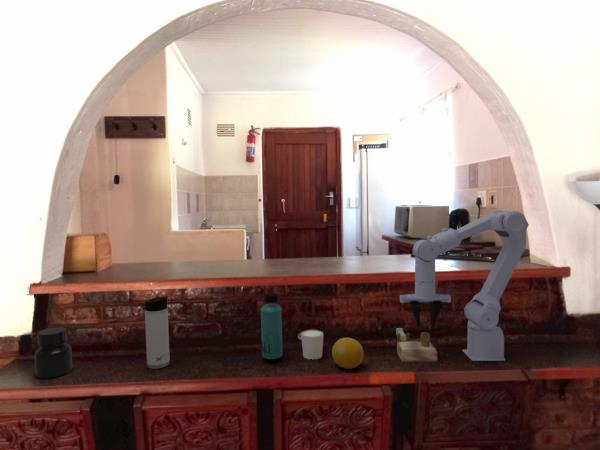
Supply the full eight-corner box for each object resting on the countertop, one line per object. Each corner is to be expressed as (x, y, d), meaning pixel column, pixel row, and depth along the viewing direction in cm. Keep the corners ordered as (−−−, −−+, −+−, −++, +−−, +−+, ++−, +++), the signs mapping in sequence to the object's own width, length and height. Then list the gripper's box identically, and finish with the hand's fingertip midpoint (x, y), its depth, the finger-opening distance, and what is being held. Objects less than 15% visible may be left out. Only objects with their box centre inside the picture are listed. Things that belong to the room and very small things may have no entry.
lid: (429, 343, 121) (429, 330, 121) (435, 351, 115) (435, 337, 115) (398, 343, 122) (398, 330, 121) (403, 351, 115) (403, 337, 115)
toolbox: (429, 351, 123) (429, 333, 122) (437, 361, 115) (437, 342, 114) (396, 351, 123) (396, 333, 122) (402, 362, 115) (402, 342, 115)
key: (402, 334, 128) (402, 328, 128) (407, 341, 122) (407, 335, 121) (396, 334, 128) (396, 328, 128) (400, 341, 122) (400, 335, 122)
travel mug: (163, 369, 113) (160, 300, 111) (142, 368, 114) (139, 299, 113) (174, 361, 119) (172, 295, 118) (154, 359, 120) (152, 294, 119)
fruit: (365, 362, 115) (364, 335, 115) (361, 374, 108) (361, 345, 107) (335, 359, 118) (334, 333, 117) (329, 371, 110) (329, 342, 109)
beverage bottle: (284, 355, 121) (283, 291, 120) (281, 364, 115) (280, 296, 113) (263, 355, 122) (262, 291, 121) (259, 364, 115) (257, 296, 114)
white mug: (324, 360, 117) (324, 337, 117) (301, 360, 118) (300, 337, 117) (323, 351, 124) (323, 329, 124) (301, 351, 124) (301, 329, 124)
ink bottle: (77, 364, 118) (75, 324, 117) (69, 376, 109) (66, 334, 109) (40, 368, 115) (38, 327, 115) (28, 381, 107) (26, 337, 106)
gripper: (445, 277, 121) (445, 321, 121) (397, 278, 121) (397, 322, 122) (453, 282, 114) (453, 329, 114) (402, 283, 114) (402, 329, 115)
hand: (425, 326), depth 118 cm, fingers open, 4 cm apart
